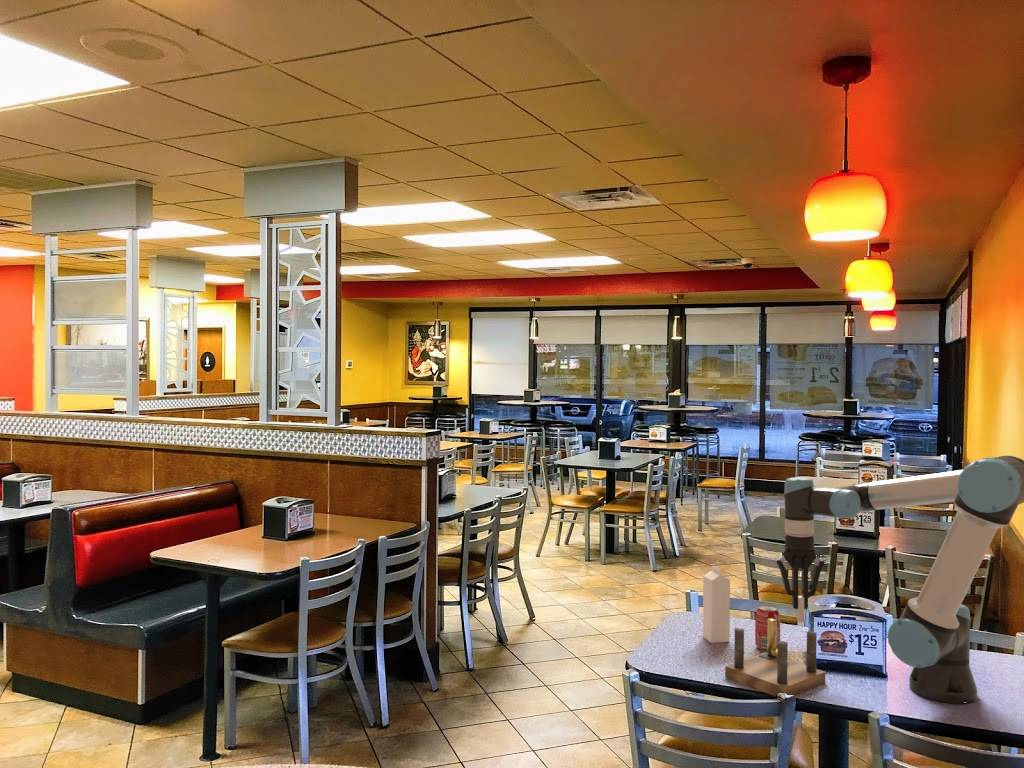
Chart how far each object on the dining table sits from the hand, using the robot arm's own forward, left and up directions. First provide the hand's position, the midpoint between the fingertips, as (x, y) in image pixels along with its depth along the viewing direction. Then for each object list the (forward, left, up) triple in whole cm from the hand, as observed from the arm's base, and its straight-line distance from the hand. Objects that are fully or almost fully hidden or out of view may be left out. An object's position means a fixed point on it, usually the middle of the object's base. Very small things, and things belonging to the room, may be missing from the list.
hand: (800, 620), depth 214 cm
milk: (+29, -1, -14) cm, 32 cm away
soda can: (+15, -7, -14) cm, 22 cm away
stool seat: (-1, +13, -13) cm, 18 cm away
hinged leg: (+4, +5, -10) cm, 12 cm away
